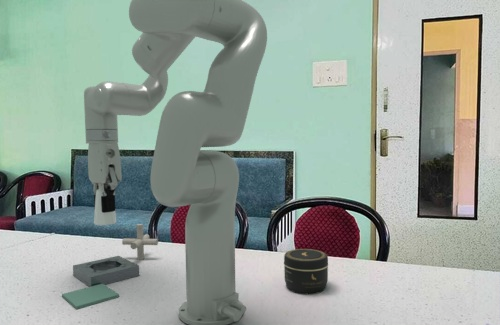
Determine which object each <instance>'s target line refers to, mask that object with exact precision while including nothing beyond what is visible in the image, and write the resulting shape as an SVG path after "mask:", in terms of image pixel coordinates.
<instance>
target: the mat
mask: <svg viewBox="0 0 500 325" xmlns="http://www.w3.org/2000/svg"><path fill="white" fill-rule="evenodd" d="M61 298H63V299H64V300H65V301H66V302H68V304H70V305H71V306H72V307H73V308H74V309H76V310H79V309H83V308H87V307H89V306H92V305H96V304H101V303H103V302H107V301H110V300H114V299H116V298H120V293H118V292H116V291H115V290H114V289H112V288H111V287H109V286H108V285H107V284H106V285H104V284H99V285H95V286H91V287H89V286H86V287H84V288H80V289H77V290H73V291H68V292H64V293H61Z"/></svg>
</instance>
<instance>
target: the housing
mask: <svg viewBox="0 0 500 325" xmlns="http://www.w3.org/2000/svg"><path fill="white" fill-rule="evenodd" d="M72 276H73V277H74V278H76V279H77V280H79V281H80V282H82V283H83V284H84V285H86V287H91V286H95V285H99V284H104V285H106V286H107V285H110V284H113V283H117V282H120V281H121V282H122V281H125V280H129V279H132V278H136V277H139V276H140V265H139V264H137V263H135V262H133V261H131V260H128V259H126V258H124V257H123V256H120V255H116V256H115V255H114V256H111V257H106V258H101V259H97V260H93V261H88V262H82V263H77V264H74V265H72Z"/></svg>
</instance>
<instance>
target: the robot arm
mask: <svg viewBox="0 0 500 325" xmlns="http://www.w3.org/2000/svg"><path fill="white" fill-rule="evenodd" d="M129 3H130V4H129V7H128V16H129V17H128V18H129V21H130V23H131V25H132V26H133V28H134V29H136V31H138V32H141V34H140V35H139V37H138V38H137V39H136V41H135V42H134V44H133V45H132V49H131V53H132V54H131V55H132V57H133V60H134V61H135V63H136V64H137V65H138V66H139V67H140V69H142V70H143V71H144V73H146V74H147V75H148V76H147V78H146V79H145V80H144V82H142V83H141V84H140V85H139V84H133V83H125V82H117V81H116V82H114V81H103V82H102V81H101V82H100V83H98V84H97V85H94V86H88V87H86V88H85V89H84V91H83V104H84V106H83V107H84V129H85V130H84V131H85V144H88V148H87V151H88V152H87V173H88V179H89V181H90V183H91V184H92V187H93V188H92V189H93V190H92V191H93V202H94V204H93V205H94V206H93V207H94V209H95V199H96V190H98V189H99V188H98V187H99V186H98V185H99V183H101V184H102V194H103V196H101V206H102V212H103V213H105V212H113V211H115V212H116V189H117V186H118V185H119V183H120V182H121V181H122V179H123V178H122V177H123V176H122V175H123V174H122V162H121V155H120V147H119V144H118V143H119V130H118V128H119V126H118V116H135V117H136V116H137V117H142V116H146V115H148V114H149V113H151V112H152V111H153V110H154V109H156V107H157V106H158V105H159V104H160V103H161V102H162V101H163V99H164V98H165V95H166V93H167V90H168V87H169V74H168V70H169V69H170V68H171V67H172V66H173V64H174V63H175V62H176V60H177V59H178V58H179V57H180V56H181V55H182V53H183V52H184V51H185V50H186V49H187V47H188V46H189V45H191V43H192V42H193V40H194V39H195V38H199V39H203V40H207V41H211V42H215V43H219V44H221V45H222V46H223V48H222V49H221V50H220V51H219V52H218V53H217V55H216V56H215V58H214V59H213V60H212V63H211V64H210V67H209V69H208V75H207V79H206V83H205V87H204V90H203V91H196V90H187V91H180V92H178V93H176V94H174V95H173V96H172V97H171V98H170V99H169V100H168V101H167V103H166V105H165V106H164V108H163V110H162V112H161V117H160V120H159V125H158V130H157V135H156V140H155V145H154V152H153V157H152V162H151V168H150V177H149V178H150V180H149V182H150V189H151V191H152V192H151V193H152V194H153V196H154V199H156V202H158V203H160V205H163V206H165V207H169V208H177V207H178V208H179V207H185V206H189V208H188V211H187V215H186V218H185V226H184V232H185V234H184V235H185V237H184V238H185V240H184V242H185V243H184V244H185V248H184V249H185V250H184V251H185V282H186V284H185V287H186V301H185V302H183V303H182V304H181V305H180V306H179V307H178V317H179V319H180V320H181V321H182V322H183V323H185V324H187V325H230V324H232V323H234V322H239V321H240V320H241V318H242V316H243V315H244V314H245V313H246V312H247V307H246V305H244V304H243V302H241V300H239V293H238V292H236V242H235V241H236V227H235V226H236V222H235V221H236V218H235V217H236V206H237V204H236V203H237V198H238V197H237V196H238V191H239V184H240V171H239V168H238V164H237V163H236V161H235V160H234V158H232V157H231V156H230V155H229V154H227V153H225V152H222V151H218V150H201V149H202V148H218V147H219V148H220V147H222V148H223V147H228V146H229V147H230V146H232V145H235V144H236V143H238V141H240V139H241V137H242V135H243V132H244V129H245V124H246V121H247V116H248V114H249V109H250V105H251V101H252V97H253V93H254V90H255V89H254V88H255V84H256V80H257V76H258V73H259V70H260V67H261V65H262V61H263V58H264V57H265V55H264V54H265V52H266V49H267V44H268V30H267V26H266V23H265V20H264V18H263V16H262V15H261V14H260V12H258V10H257V9H256V8H254V7H253V6H252V5H250V4H249V3H247V2H246V1H244V0H131V1H130V2H129ZM109 180H110V182H109V183H105V182H106V181H109ZM108 185H109V186H108ZM106 186H107V188H106Z"/></svg>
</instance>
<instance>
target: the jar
mask: <svg viewBox="0 0 500 325" xmlns="http://www.w3.org/2000/svg"><path fill="white" fill-rule="evenodd" d="M283 265H284V266H283V268H284V270H283V271H284V282H285V286H286V287H287V289H288V290H289V291H291V292H294V293H297V294H303V295H314V294H320V293H322V292H323V291H325V290H326V288H327V284H328V275H329V273H328V272H329V268H328V266H329V258H328V255H327V253H326V252H323V251H322V250H319V249H318V250H317V249H312V248H296V249H291V250H289V251H286V252H285V253H284V256H283Z"/></svg>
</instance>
